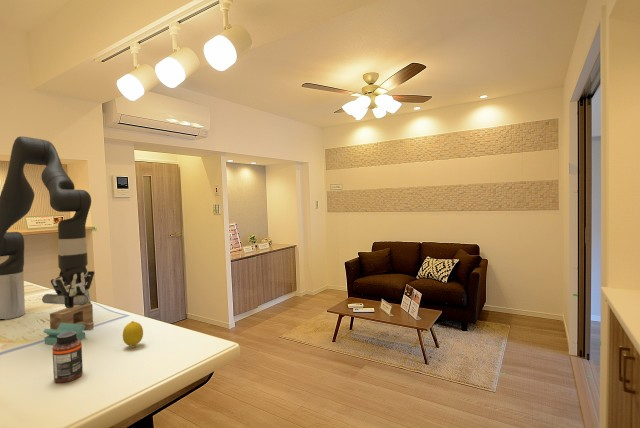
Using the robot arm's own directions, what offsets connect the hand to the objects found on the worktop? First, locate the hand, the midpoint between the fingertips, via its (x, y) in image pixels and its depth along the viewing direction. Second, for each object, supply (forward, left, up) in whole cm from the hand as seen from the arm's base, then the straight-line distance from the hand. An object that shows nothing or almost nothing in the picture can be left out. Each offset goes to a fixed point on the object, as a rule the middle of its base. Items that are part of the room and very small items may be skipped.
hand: (74, 305), depth 108 cm
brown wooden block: (-9, +10, -12) cm, 18 cm away
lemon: (+21, 0, -12) cm, 24 cm away
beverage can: (-23, +24, -12) cm, 35 cm away
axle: (-4, 0, +2) cm, 4 cm away
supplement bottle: (+18, -19, -12) cm, 29 cm away
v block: (-4, 0, -12) cm, 12 cm away
